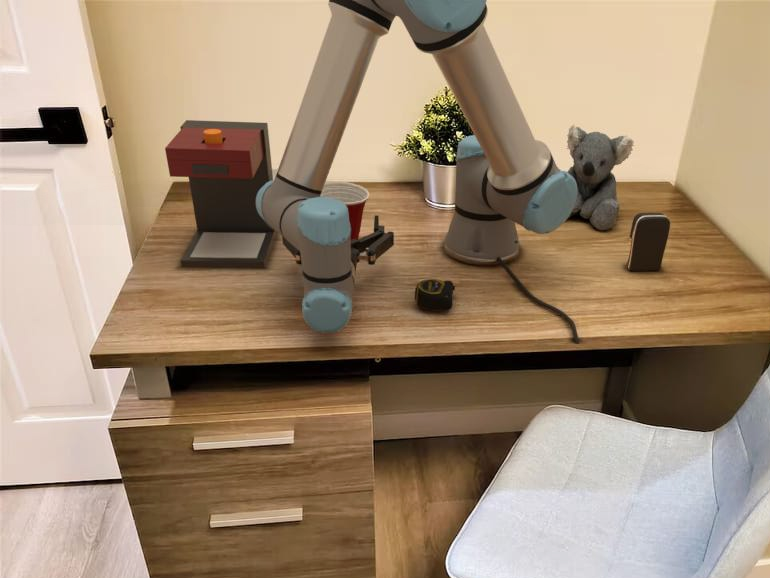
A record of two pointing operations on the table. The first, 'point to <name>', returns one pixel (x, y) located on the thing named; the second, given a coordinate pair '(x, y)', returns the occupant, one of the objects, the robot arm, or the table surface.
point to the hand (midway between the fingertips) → (341, 221)
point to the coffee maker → (225, 192)
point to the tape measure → (434, 294)
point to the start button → (213, 136)
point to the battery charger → (648, 241)
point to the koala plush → (596, 174)
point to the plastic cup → (349, 201)
